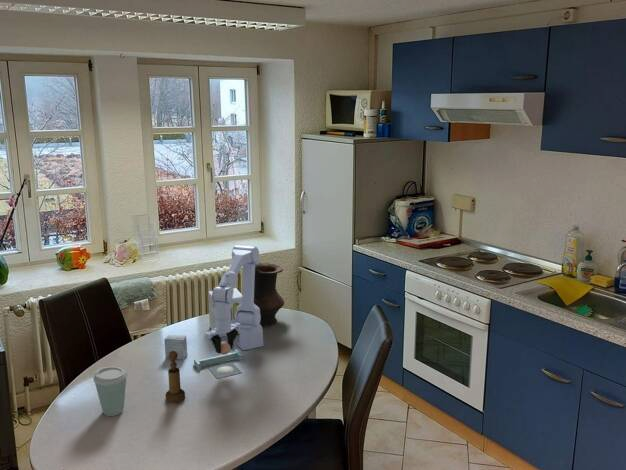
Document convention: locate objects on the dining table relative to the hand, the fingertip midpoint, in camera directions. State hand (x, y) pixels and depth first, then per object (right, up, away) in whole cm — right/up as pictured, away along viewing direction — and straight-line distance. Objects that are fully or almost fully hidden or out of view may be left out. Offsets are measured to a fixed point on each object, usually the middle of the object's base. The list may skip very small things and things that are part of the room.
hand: (224, 350), depth 223 cm
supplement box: (-5, +1, +41) cm, 41 cm away
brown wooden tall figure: (-14, -13, -19) cm, 27 cm away
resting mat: (0, -8, +2) cm, 8 cm away
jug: (+11, +3, +49) cm, 50 cm away
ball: (0, -1, 0) cm, 2 cm away
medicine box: (-22, -5, +14) cm, 26 cm away
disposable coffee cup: (-33, -15, -27) cm, 46 cm away
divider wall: (-4, -6, +9) cm, 12 cm away
